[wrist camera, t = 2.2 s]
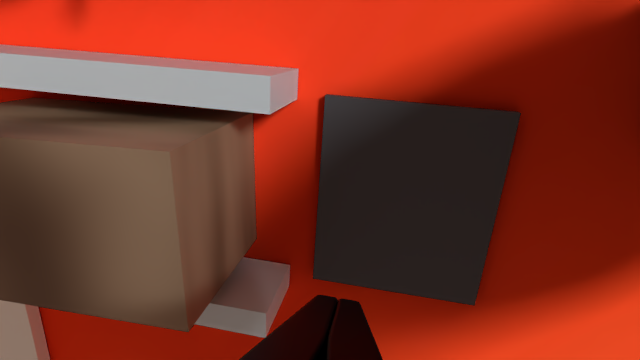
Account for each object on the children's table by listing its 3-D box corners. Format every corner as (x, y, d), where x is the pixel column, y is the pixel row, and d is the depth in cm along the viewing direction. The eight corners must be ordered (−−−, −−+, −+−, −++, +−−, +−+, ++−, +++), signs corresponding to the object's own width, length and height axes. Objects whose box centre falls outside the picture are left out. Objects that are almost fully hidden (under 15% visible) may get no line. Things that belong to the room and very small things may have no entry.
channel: (298, 68, 13) (270, 76, 10) (289, 286, 16) (265, 337, 13) (-10, 43, 15) (-106, 44, 12) (32, 242, 18) (-36, 279, 15)
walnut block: (254, 111, 14) (169, 151, 9) (257, 237, 16) (188, 332, 10) (36, 97, 15) (-144, 124, 10) (60, 213, 17) (-84, 286, 12)
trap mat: (518, 111, 12) (520, 113, 12) (473, 300, 14) (474, 305, 14) (326, 94, 13) (325, 95, 13) (314, 274, 15) (313, 278, 15)
